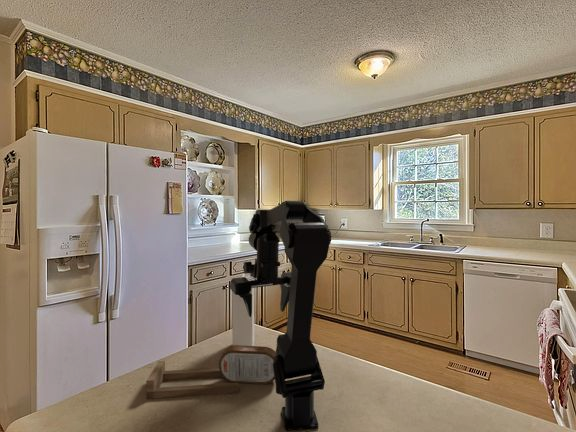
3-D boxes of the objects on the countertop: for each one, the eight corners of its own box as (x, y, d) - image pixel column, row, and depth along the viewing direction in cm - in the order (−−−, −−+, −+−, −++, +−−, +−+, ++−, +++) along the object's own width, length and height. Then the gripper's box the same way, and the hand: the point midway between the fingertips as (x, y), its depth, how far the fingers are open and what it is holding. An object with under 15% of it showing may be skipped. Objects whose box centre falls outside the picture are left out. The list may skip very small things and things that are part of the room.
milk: (232, 351, 92) (231, 276, 92) (235, 342, 98) (234, 272, 98) (253, 350, 92) (252, 276, 92) (254, 342, 99) (253, 272, 98)
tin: (281, 379, 77) (281, 345, 76) (279, 386, 73) (279, 351, 73) (221, 376, 78) (221, 343, 78) (217, 383, 75) (217, 348, 75)
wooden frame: (238, 392, 71) (238, 375, 71) (146, 398, 69) (146, 380, 69) (239, 372, 80) (239, 356, 80) (158, 377, 78) (158, 361, 78)
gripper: (286, 248, 94) (285, 299, 95) (225, 252, 86) (224, 307, 87) (304, 256, 84) (302, 312, 85) (236, 262, 76) (235, 324, 77)
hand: (266, 313), depth 84 cm, fingers open, 9 cm apart
